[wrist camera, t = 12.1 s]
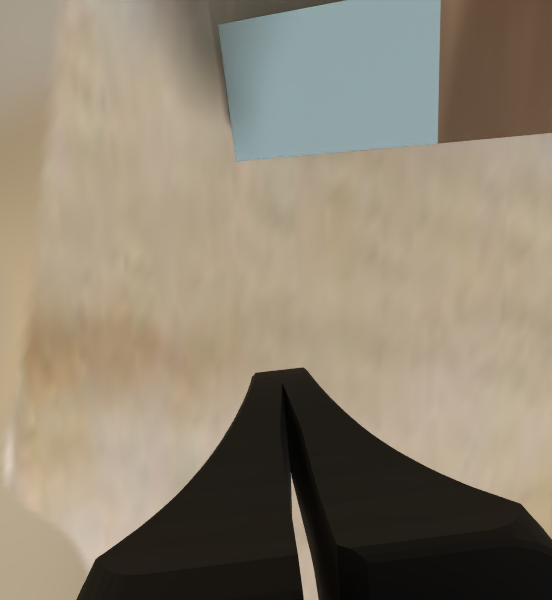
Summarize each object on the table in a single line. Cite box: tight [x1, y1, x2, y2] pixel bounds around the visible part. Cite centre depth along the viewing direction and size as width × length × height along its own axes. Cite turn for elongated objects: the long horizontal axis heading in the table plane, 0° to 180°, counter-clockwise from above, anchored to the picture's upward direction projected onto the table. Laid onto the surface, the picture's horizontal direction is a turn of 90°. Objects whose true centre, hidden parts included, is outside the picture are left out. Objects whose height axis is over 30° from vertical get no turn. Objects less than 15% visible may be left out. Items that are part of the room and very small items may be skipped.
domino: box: [360, 0, 552, 151], centre depth 16 cm, size 2×4×7 cm
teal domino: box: [218, 0, 441, 161], centre depth 16 cm, size 2×4×7 cm
